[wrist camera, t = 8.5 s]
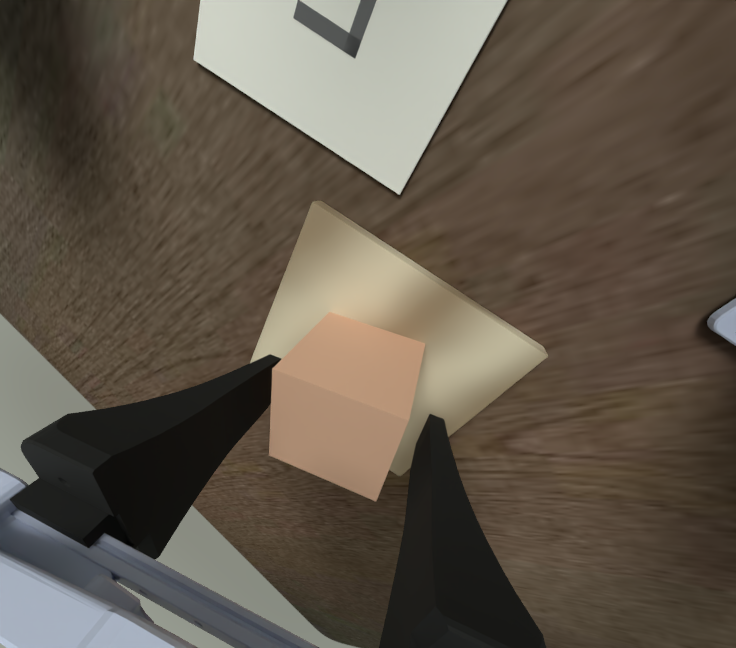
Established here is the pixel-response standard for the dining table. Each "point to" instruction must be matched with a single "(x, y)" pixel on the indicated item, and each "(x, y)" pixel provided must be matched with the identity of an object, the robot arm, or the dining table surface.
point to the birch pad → (398, 321)
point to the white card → (350, 68)
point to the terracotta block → (344, 402)
